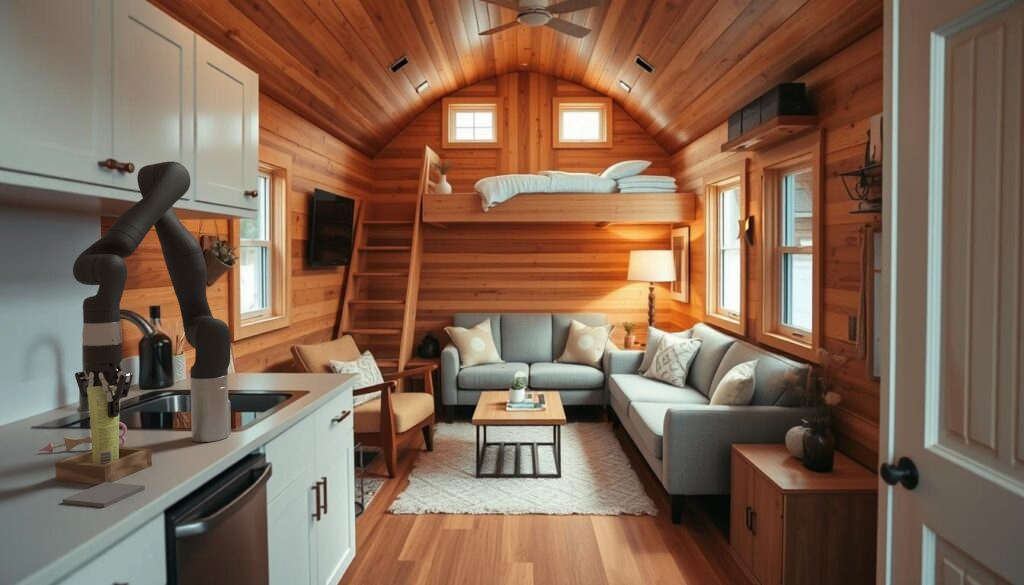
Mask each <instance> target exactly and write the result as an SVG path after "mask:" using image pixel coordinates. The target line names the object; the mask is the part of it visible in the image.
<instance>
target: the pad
mask: <svg viewBox="0 0 1024 585" xmlns="http://www.w3.org/2000/svg"><path fill="white" fill-rule="evenodd" d="M144 490H145V485H144V484H143V485H140V484H132V483H131V484H130V483H119V482H111V483H110V482H104V483H102V484H96V485H95V486H93V487H90V488H87V489H85V490H82V491H80V492H77V493H75V494H73V495H70V496H67V497H65V498H63V499H61V501H62V504H65V505H66V504H67V505H77V506H85V507H86V506H87V507H96V508H97V507H98V508H106V507H108V506H111V505H112V504H115V503H118V502H120V501H121V500H124V499H126V498H128V497H131V496H132V495H135V494H137V493H140V492H141V491H144Z"/></svg>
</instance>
